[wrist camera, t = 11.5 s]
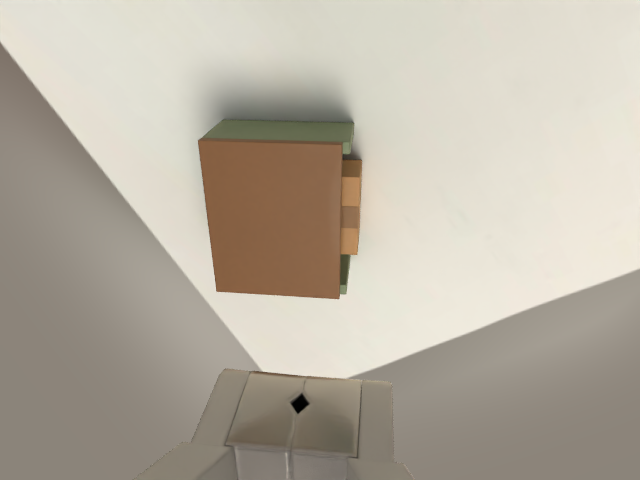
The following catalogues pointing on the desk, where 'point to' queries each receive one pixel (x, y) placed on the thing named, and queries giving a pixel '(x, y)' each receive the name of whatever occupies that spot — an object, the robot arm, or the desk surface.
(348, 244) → the cardboard box
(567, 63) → the desk surface
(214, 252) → the cabinet
